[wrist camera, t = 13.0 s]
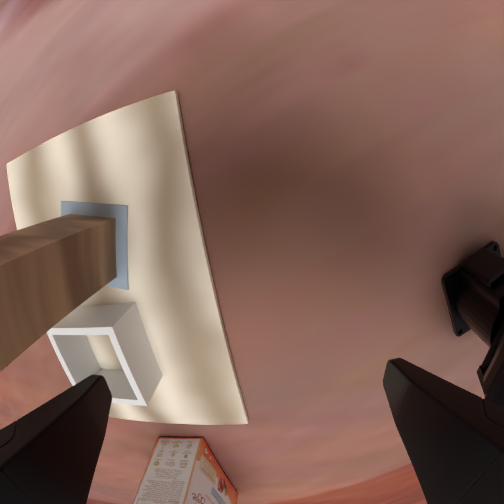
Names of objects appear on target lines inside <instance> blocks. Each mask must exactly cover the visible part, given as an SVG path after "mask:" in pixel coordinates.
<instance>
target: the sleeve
mask: <svg viewBox="0 0 504 504" xmlns="http://www.w3.org/2000/svg"><path fill="white" fill-rule="evenodd" d="M47 334H48V337H49V339H50V341H51V343H52V346H53V348H54V350H55V352H56V354H57V356H58V358H59V360H60V362H61V364H62V366H63V368H64V370H65V372H66V374H67V376H68V378H69V380H70V382H71V383H72V385H73V386H74V385H75V384H77V383H79V382H80V381H82V380H83V379H85V378H87V377H88V376H90V375H92V374H95V375H102V376H104V378H105V379H106V382H107V384H108V387H109V389H110V391H111V394H112V403H118V404H128V405H140V406H148V404H149V402H150V400H151V398H152V396H153V394H154V392H155V390H156V388H157V386H158V384H159V382H160V380H161V378H162V373H161V371H160V368H159V366H158V363H157V361H156V358H155V356H154V353H153V350H152V348H151V345H150V342H149V340H148V337H147V334H146V331H145V328H144V325H143V323H142V320H141V317H140V314H139V311H138V308H137V305H136V302H134V303H123V304H112V305H100V306H87V307H77V308H76V309H74V310H73V311H72V312H71V313H69V314H68V315H67V316H66V317H64V318H63V319H62V320H61V321H59V322H58V323H57V324H56V325H55V326H53V327H52V328H51V329H50V330H48V331H47ZM86 335H109V338H110V340H111V343H112V345H113V347H114V350H115V352H116V355H117V357H118V359H119V361H120V364H121V366H122V368H123V370H110V369H101V367H100V365H99V363H98V361H97V359H96V357H95V354H94V352H93V350H92V348H91V345H90V343H89V341H88V338H87V336H86Z"/></svg>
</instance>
